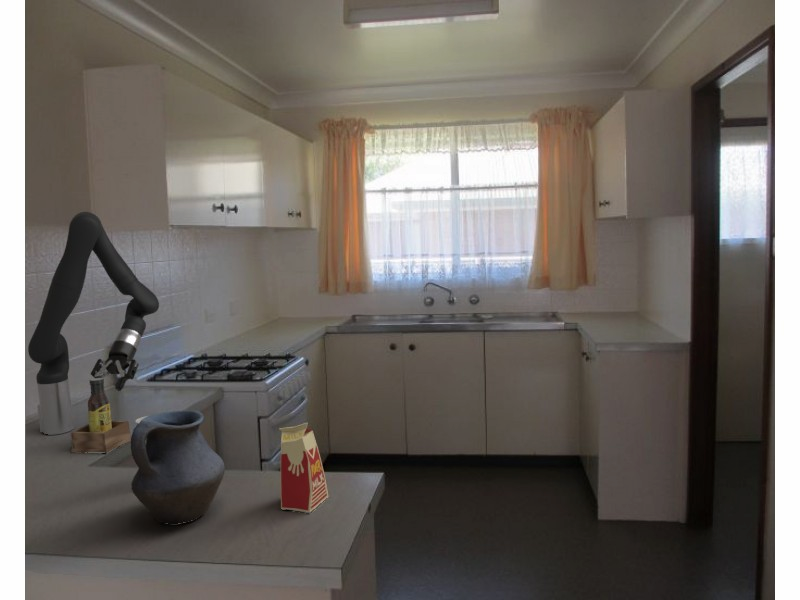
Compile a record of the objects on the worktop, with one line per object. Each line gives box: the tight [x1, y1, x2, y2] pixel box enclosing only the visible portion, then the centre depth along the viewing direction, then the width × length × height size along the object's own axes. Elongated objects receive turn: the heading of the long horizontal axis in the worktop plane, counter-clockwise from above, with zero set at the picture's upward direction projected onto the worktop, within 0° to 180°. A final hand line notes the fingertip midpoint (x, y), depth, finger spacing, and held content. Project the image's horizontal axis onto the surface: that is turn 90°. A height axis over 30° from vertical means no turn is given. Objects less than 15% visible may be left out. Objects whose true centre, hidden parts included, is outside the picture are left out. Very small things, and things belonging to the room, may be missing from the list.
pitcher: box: [130, 409, 226, 525], centre depth 149 cm, size 21×22×25 cm
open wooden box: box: [70, 420, 132, 454], centre depth 202 cm, size 12×12×6 cm
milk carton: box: [278, 422, 330, 512], centre depth 153 cm, size 9×9×20 cm
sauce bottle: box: [87, 377, 112, 433], centre depth 201 cm, size 7×6×20 cm
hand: (105, 389), depth 204 cm, fingers open, 8 cm apart
